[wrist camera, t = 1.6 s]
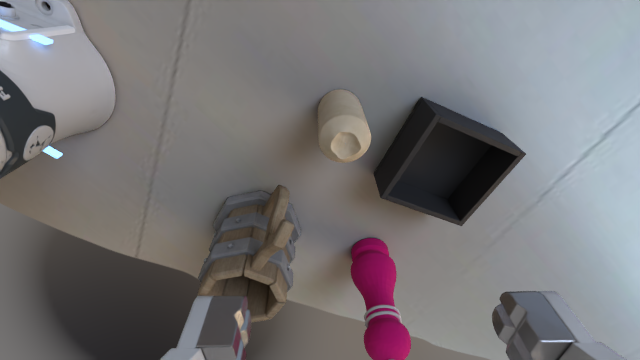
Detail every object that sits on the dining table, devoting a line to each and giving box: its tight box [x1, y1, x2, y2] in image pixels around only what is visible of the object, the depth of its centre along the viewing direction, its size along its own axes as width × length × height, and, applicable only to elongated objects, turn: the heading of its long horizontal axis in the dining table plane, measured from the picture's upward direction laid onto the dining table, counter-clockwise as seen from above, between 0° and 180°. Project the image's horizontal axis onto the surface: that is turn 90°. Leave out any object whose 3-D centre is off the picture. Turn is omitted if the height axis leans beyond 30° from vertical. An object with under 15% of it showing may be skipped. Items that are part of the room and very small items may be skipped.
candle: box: [318, 89, 371, 163], centre depth 36 cm, size 6×6×10 cm
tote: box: [374, 97, 526, 226], centre depth 41 cm, size 13×12×6 cm
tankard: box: [198, 185, 301, 322], centre depth 42 cm, size 20×13×15 cm, turn 149°
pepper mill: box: [351, 238, 411, 360], centre depth 46 cm, size 7×7×20 cm
